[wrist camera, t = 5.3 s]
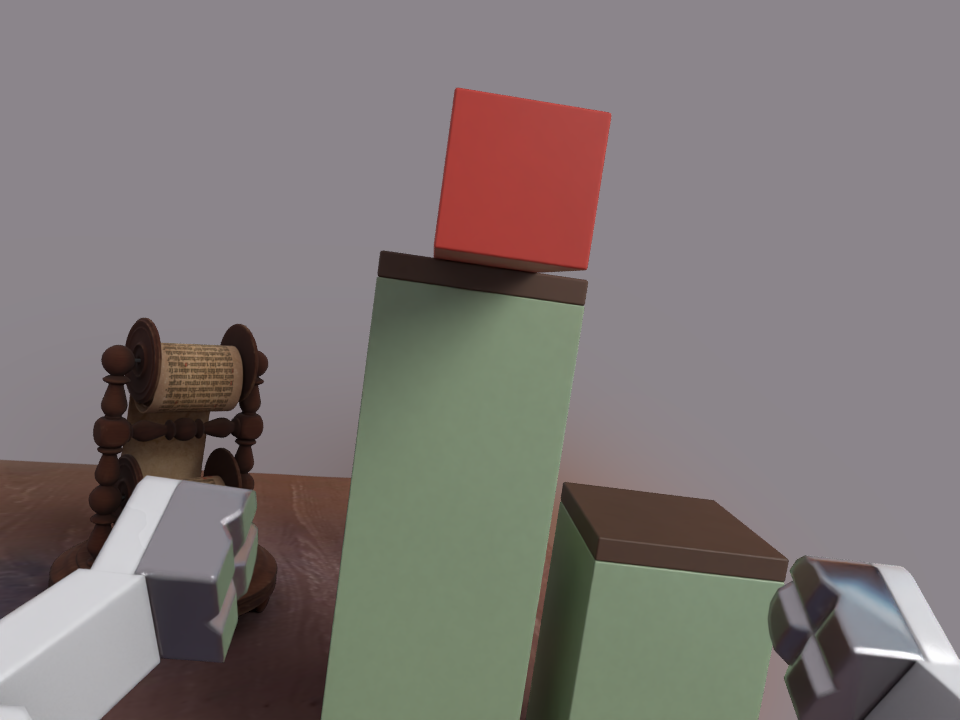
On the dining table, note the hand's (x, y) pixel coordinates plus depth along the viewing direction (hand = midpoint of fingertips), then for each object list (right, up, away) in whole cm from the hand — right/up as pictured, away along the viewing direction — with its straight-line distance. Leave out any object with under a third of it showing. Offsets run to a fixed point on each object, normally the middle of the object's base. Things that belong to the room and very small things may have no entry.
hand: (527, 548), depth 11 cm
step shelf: (0, -19, +24) cm, 31 cm away
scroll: (-23, -14, +41) cm, 49 cm away
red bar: (-1, +7, +20) cm, 21 cm away
